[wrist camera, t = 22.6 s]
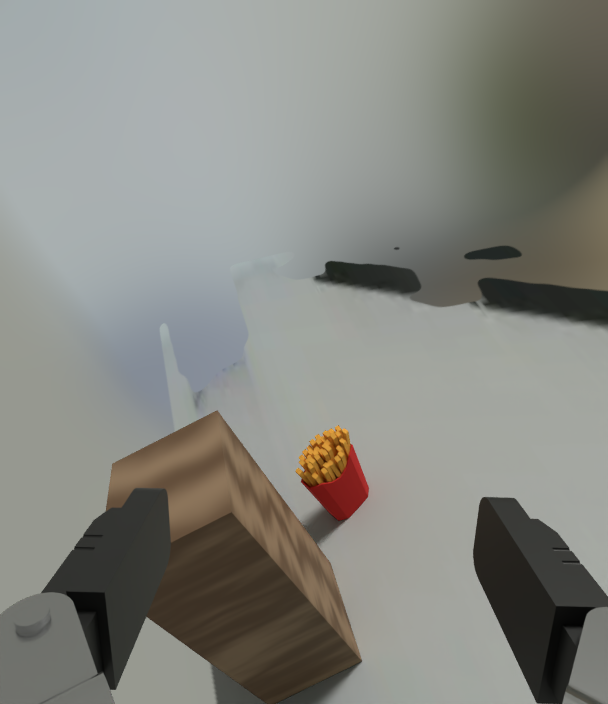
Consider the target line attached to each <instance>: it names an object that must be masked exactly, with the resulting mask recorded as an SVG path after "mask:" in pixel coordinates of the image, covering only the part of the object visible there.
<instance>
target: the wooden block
mask: <svg viewBox="0 0 608 704" xmlns="http://www.w3.org/2000/svg"><path fill="white" fill-rule="evenodd" d="M135 488H164V489H166V491H167V494H168V505H169V521H170V536H171V549H170V556H169V561H168V565H167V568H166V570H165V573H164V575H163V577H162V580H161V582H160V585H159V587H158V589H157V592H156V594H155V597H154V599H153V601H152V604H151V606H150V609H149V611H148V613H147V616H146V617H148V618H149V619H150V620H152V621H153V622H155V623H156V624H157V625H159V626H160V627H161V628H163V629H164V630H166V631H167V632H168V633H170V634H171V635H173V636H174V637H175V638H177V639H178V640H179V641H181V642H182V643H184V644H185V645H187V646H188V647H189V648H190V649H192V650H193V651H195V652H196V653H197V654H199V655H200V656H202V657H203V658H204V659H206V660H207V661H208V662H210V663H211V664H213V665H214V666H215V667H217V668H218V669H219V670H221V671H222V672H224V673H225V674H226V675H228V676H229V677H230V678H232V679H233V680H235V681H236V682H237V683H239V684H240V685H242V686H243V687H244V688H246V689H247V690H248V691H250V692H251V693H253V694H254V695H255V696H257V697H258V698H259V699H261V700H262V701H264V702H265V703H266V704H276V703H278V702H280V701H282V700H284V699H286V698H288V697H290V696H292V695H294V694H296V693H298V692H300V691H302V690H304V689H306V688H308V687H310V686H312V685H315V684H317V683H319V682H321V681H323V680H325V679H327V678H329V677H331V676H333V675H335V674H337V673H339V672H341V671H343V670H345V669H347V668H349V667H351V666H353V665H355V664H357V663H359V662H361V661H362V659H361V656H360V653H359V650H358V647H357V644H356V641H355V638H354V635H353V632H352V629H351V625H350V622H349V619H348V616H347V613H346V610H345V607H344V604H343V601H342V598H341V594H340V591H339V588H338V585H337V582H336V579H335V576H334V573H333V570H332V567H331V564H330V562H329V560H328V559H327V558H326V556H325V555H324V554H323V552H322V551H321V550H320V548H319V547H318V546H317V544H316V543H315V542H314V540H313V539H312V538H311V536H310V535H309V533H308V532H307V531H306V529H305V528H304V527H303V525H302V524H301V523H300V521H299V520H298V519H297V517H296V516H295V515H294V513H293V512H292V511H291V509H290V508H289V507H288V505H287V504H286V502H285V501H284V500H283V498H282V497H281V496H280V494H279V493H278V492H277V490H276V489H275V488H274V486H273V485H272V484H271V482H270V481H269V480H268V478H267V477H266V475H265V474H264V473H263V471H262V470H261V469H260V467H259V466H258V465H257V463H256V462H255V461H254V459H253V458H252V457H251V455H250V454H249V453H248V451H247V450H246V449H245V447H244V446H243V444H242V443H241V442H240V440H239V439H238V438H237V436H236V435H235V434H234V432H233V431H232V430H231V428H230V427H229V426H228V424H227V423H226V422H225V420H224V419H223V418H222V416H221V415H220V413H219V412H218V411H215V412H213V413H211V414H209V415H207V416H205V417H203V418H201V419H199V420H197V421H195V422H193V423H191V424H189V425H188V426H186V427H184V428H182V429H180V430H178V431H176V432H174V433H172V434H170V435H168V436H166V437H164V438H162V439H160V440H158V441H156V442H154V443H152V444H150V445H148V446H146V447H144V448H142V449H141V450H139V451H136V452H135V453H133V454H131V455H129V456H127V457H125V458H123V459H121V460H119V461H117V462H115V463H113V464H112V470H111V477H110V484H109V492H108V499H107V506H106V511H107V510H109V509H110V508H112V507H114V508H122V506H123V505H124V503H125V502H126V500H127V499H128V497H129V496H130V494H131V493H132V491H133V490H134V489H135Z"/></svg>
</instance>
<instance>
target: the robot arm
mask: <svg viewBox="0 0 608 704" xmlns="http://www.w3.org/2000/svg"><path fill="white" fill-rule="evenodd" d="M170 549H171V536H170V521H169V505H168V494H167V491H166V489H164V488H135V489H134V490H133V491H132V493H131V494H130V496H129V497H128V499H127V500H126V502H125V503H124V505H123V506H122V508H114V507H112V508H110V509H109V510H107V511H106V512H105V513H103V514H102V515H101V516H99V517H98V518H96V519H95V520H94V521H93V522H92V524H91V525H90V526H89V528H88V529H87V530H86V532H85V533H84V536H83V538H81V539H80V540H79V541H78V543H77V544H76V546H75V548H74V550H72V551H71V552H70V554H69V555H68V557H67V558H66V559H65V561H64V562H63V564H62V565H61V566H60V568H59V569H58V570H57V572H56V573H55V575H54V576H53V577H52V579H51V580H50V582H49V583H48V584H47V586H46V587H45V588H44V590H43V591H42V592H41V594H36V595H33V596H30V597H27V598H25V599H23V600H20V601H19V602H17V603H15V604H13V605H12V606H10V607H9V608H8V609H6V610H5V611H4V612H3V613H2V614H1V615H0V704H115V703H114V700H113V697H112V694H111V691H110V690H116V688H117V685H118V683H119V680H120V678H121V675H122V673H123V671H124V668H125V666H126V664H127V661H128V659H129V656H130V654H131V652H132V649H133V647H134V644H135V642H136V640H137V637H138V635H139V632H140V630H141V628H142V625H143V623H144V621H145V618H146V616H147V613H148V611H149V609H150V606H151V604H152V601H153V599H154V597H155V594H156V592H157V589H158V587H159V585H160V582H161V580H162V577H163V575H164V573H165V570H166V568H167V565H168V561H169V556H170ZM473 558H474V566H475V571H476V574H477V577H478V579H479V581H480V583H481V585H482V587H483V590H484V592H485V594H486V596H487V598H488V600H489V602H490V604H491V607H492V609H493V611H494V613H495V615H496V617H497V619H498V621H499V624H500V626H501V628H502V630H503V632H504V634H505V636H506V638H507V641H508V643H509V645H510V647H511V649H512V651H513V653H514V655H515V658H516V660H517V662H518V664H519V666H520V668H521V670H522V673H523V675H524V677H525V679H526V681H527V683H528V685H529V687H530V690H531V692H532V694H533V696H534V698H535V700H536V702H537V703H540V704H608V596H607V595H606V594H605V593H604V591H603V590H602V589H601V587H600V586H599V585H598V584H597V582H596V581H595V580H594V579H593V577H592V576H591V575H590V574H589V572H588V571H587V570H586V569H585V567H584V566H583V565H582V564H580V561H579V560H578V558H577V557H576V556H575V555H574V553H573V552H572V551H570V550H569V547H568V546H567V545H566V543H565V542H564V541H563V540H562V538H561V537H560V536H559V534H558V533H557V532H556V531H554V530H553V529H551V528H550V527H549V526H547V525H546V524H544V523H543V522H541V521H540V520H539V519H530V518H529V516H528V515H527V513H526V512H525V511H524V509H523V508H522V507H521V505H520V504H519V503H518V501H517V500H516V499H515V498H498V497H483V498H482V499H481V501H480V505H479V512H478V519H477V527H476V534H475V541H474V549H473Z"/></svg>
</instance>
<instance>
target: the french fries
mask: <svg viewBox="0 0 608 704" xmlns="http://www.w3.org/2000/svg"><path fill="white" fill-rule="evenodd" d="M335 430H336V432H335V431H334V430H333V429H330V430H329V431H326V430H325V431H324V432H323V435H324V437H323V436H322V437H320V435H319V434H318V435H316V436H315V438H316V440H315V441H316V442H315V441H314V439H312V440H311V441H309V442H310V444H311V446H312V447H313V448H312V447H311V446H310V445H309V446H308V447H307V449H308V451H307V450H306V449H305V450H304V451H303V454H304V456H305V457H306V458H305V457H304V456H303V455H301V456H300V457H299V459H300V461H299V463H300V464H301V466H302V467H303V468H304V469H305V471H304V472H303V471H302V470H300V469H299V468H298V469H297V470H296V471H295V472H296V473H297V474H298V475H299V476H300V477H301V478H302V480H301V482H302V484H303V485H304V486H305V487H306V488H307V489H308V490H309V491H310V492H311V493H312V494H313V496H314V497H315V498H316V499H317V500H318V501H319V502H320V503H321V504H322V505H323V506H324V508H325V509H326V510H327V511H328V512H329V513H330V514H331V515H332V516H334V517H335V518H336V519H337V520H338V521H340V520H344V519H347V518H349V517H350V516H351V515H352V514H353V513H354V512H355V511H356V510H357V509H358V508H359V507H360V506H361V504H362V503H363V502H364V501H365V500H366V499H367V497H368V491H369V487H368V485H367V482H366V479H365V477H364V474H363V471H362V469H361V466H360V463H359V461H358V458H357V456H356V453H355V450H354V448H353V445H352V444H350V439H349V433H348V431H347V430H346V429H343V430H342V429H341V428H340V427H339V425H338V426H336V427H335Z"/></svg>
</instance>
